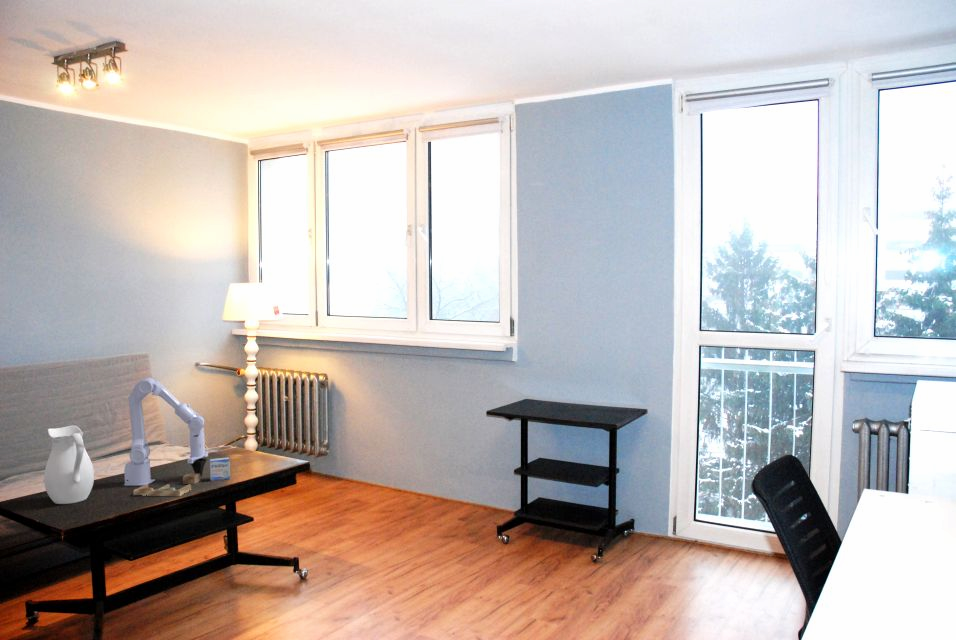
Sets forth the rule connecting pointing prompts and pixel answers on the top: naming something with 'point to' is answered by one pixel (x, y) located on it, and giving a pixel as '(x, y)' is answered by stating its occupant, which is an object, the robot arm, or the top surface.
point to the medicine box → (219, 468)
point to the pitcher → (68, 467)
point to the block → (191, 478)
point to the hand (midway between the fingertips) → (198, 476)
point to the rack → (161, 491)
